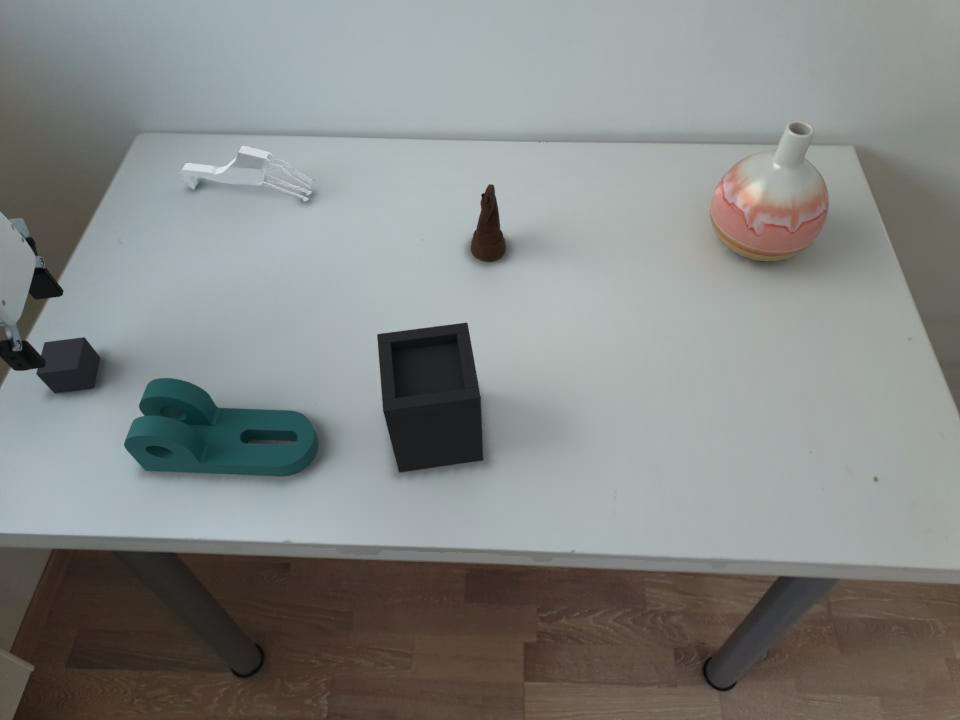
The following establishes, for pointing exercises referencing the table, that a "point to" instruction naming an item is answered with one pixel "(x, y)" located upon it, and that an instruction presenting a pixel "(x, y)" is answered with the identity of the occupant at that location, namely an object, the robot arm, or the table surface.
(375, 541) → the table surface
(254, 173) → the llama figurine
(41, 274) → the robot arm
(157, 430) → the bracket
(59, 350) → the dark grey cube
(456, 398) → the black rectangular box
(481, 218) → the chess piece
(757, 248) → the vase
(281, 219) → the table surface
